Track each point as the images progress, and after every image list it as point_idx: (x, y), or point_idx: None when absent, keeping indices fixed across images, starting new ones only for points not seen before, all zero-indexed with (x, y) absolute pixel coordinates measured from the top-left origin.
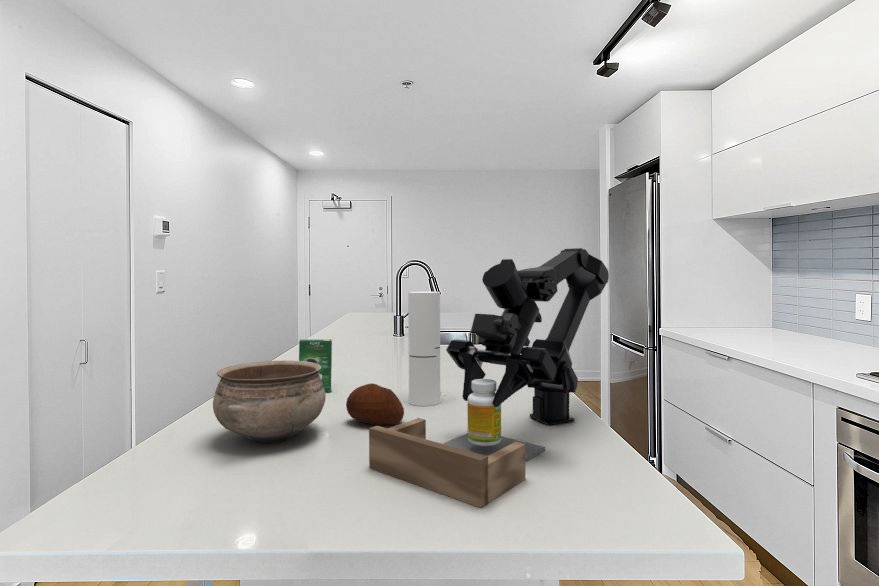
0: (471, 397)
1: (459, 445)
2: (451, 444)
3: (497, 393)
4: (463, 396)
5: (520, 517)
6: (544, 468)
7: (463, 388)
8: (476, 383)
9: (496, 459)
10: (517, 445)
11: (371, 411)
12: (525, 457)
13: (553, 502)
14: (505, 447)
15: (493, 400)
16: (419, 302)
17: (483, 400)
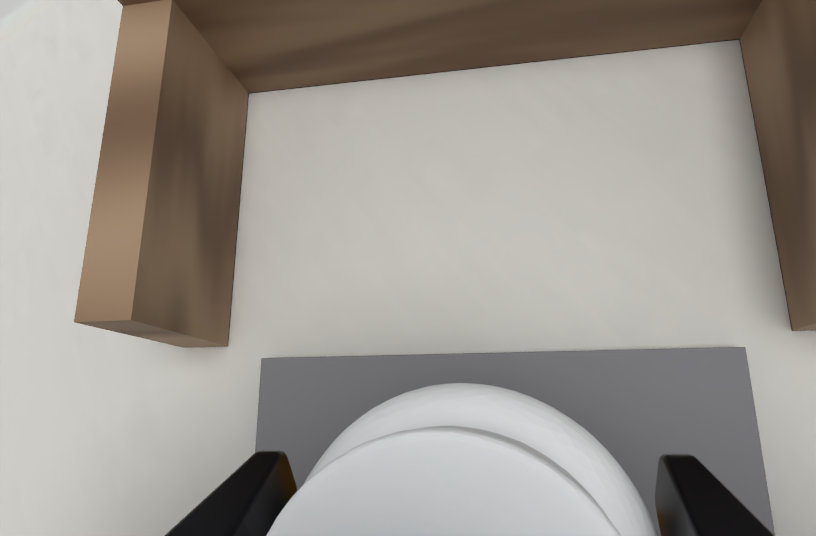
0: (525, 413)
1: (654, 471)
2: (706, 453)
3: (206, 526)
4: (682, 457)
5: (96, 98)
6: (158, 513)
7: (768, 530)
8: (447, 435)
9: (115, 64)
10: (102, 275)
11: None
12: (123, 332)
13: (42, 244)
14: (140, 208)
15: (266, 464)
16: None
17: (369, 423)
